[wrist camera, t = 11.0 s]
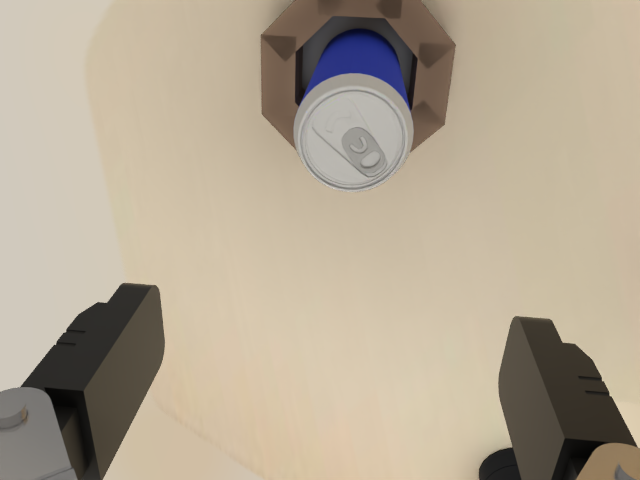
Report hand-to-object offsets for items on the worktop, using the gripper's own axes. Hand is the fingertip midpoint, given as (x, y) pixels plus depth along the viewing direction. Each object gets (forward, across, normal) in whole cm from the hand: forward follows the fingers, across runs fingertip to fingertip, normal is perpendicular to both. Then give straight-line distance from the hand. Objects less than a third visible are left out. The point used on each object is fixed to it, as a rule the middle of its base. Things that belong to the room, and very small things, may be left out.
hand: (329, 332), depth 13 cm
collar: (+28, 0, -1) cm, 28 cm away
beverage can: (+28, 0, -1) cm, 28 cm away
